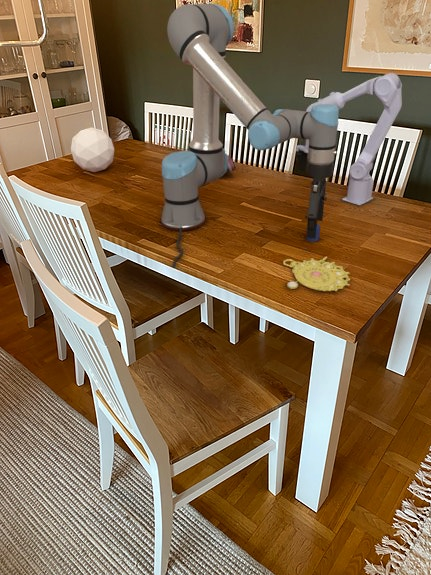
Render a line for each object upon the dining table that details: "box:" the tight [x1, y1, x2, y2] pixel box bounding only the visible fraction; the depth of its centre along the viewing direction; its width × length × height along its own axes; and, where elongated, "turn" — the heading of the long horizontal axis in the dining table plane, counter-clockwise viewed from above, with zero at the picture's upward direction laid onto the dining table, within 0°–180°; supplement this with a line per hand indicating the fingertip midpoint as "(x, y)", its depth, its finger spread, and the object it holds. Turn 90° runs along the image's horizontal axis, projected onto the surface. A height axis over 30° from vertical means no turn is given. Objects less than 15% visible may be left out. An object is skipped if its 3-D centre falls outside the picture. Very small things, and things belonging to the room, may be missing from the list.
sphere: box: [70, 126, 115, 173], centre depth 204 cm, size 19×20×20 cm
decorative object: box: [282, 255, 351, 292], centre depth 122 cm, size 21×2×20 cm
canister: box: [306, 223, 321, 242], centre depth 141 cm, size 4×4×4 cm
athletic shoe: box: [224, 154, 237, 175], centre depth 198 cm, size 11×22×12 cm
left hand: (314, 228), depth 140 cm, fingers open, 13 cm apart
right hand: (310, 172), depth 173 cm, fingers open, 7 cm apart
